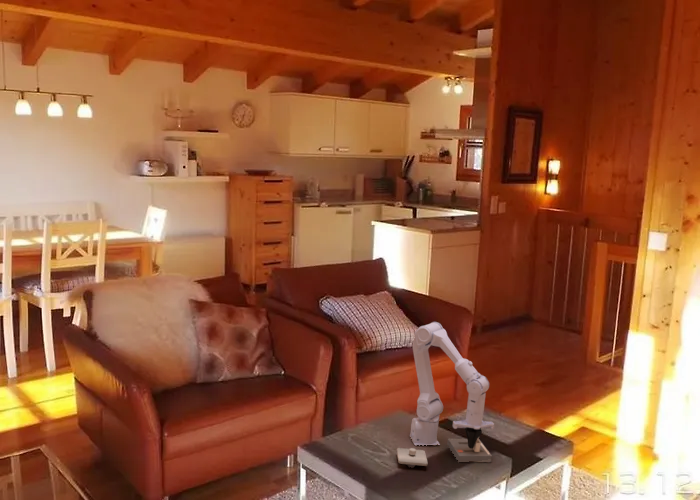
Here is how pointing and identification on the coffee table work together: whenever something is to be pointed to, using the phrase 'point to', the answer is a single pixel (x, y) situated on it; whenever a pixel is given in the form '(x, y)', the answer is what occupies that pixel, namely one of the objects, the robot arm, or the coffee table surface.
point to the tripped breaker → (477, 446)
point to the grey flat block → (467, 451)
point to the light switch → (411, 457)
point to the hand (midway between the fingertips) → (470, 447)
